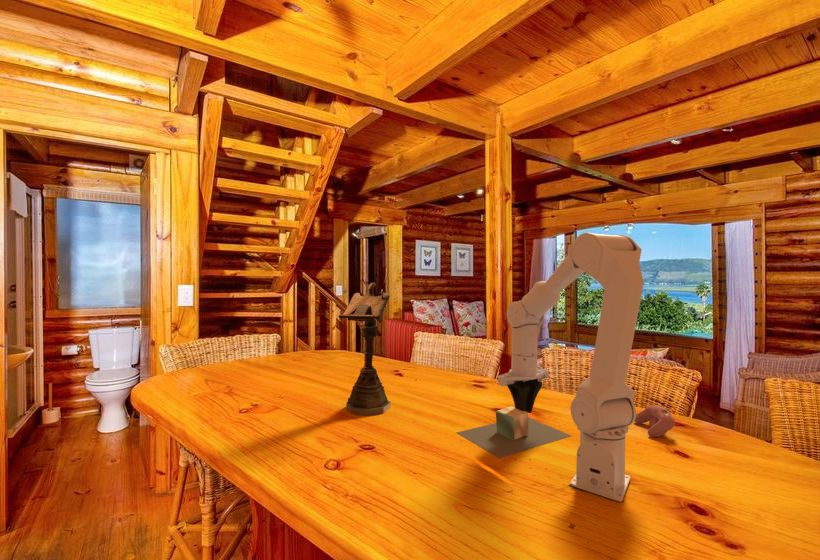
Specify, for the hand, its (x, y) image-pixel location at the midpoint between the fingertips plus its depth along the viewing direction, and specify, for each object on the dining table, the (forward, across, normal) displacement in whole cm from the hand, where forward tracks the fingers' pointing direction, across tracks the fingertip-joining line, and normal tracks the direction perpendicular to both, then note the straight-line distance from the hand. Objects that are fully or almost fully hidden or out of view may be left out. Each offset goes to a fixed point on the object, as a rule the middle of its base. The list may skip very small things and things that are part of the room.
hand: (523, 412), depth 88 cm
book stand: (+5, +26, -31) cm, 40 cm away
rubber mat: (+5, +3, 0) cm, 6 cm away
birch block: (+2, +1, 0) cm, 2 cm away
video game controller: (+5, -29, +14) cm, 33 cm away
